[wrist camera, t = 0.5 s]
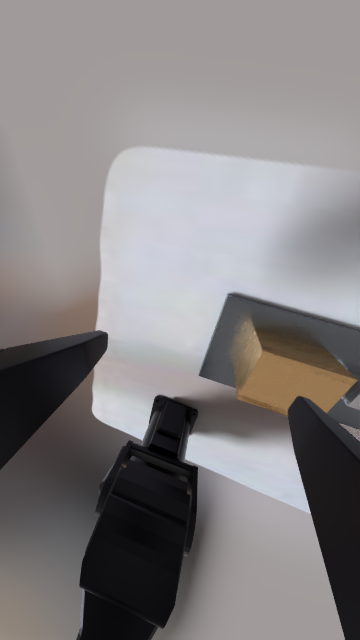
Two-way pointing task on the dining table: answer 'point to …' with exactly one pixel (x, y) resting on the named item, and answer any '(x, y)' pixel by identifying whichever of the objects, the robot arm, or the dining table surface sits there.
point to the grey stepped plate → (244, 315)
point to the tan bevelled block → (288, 373)
